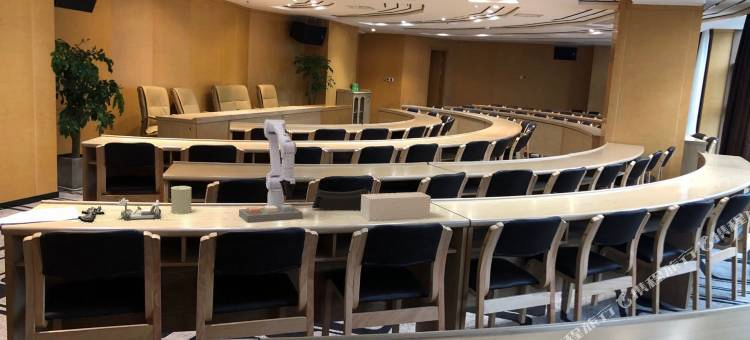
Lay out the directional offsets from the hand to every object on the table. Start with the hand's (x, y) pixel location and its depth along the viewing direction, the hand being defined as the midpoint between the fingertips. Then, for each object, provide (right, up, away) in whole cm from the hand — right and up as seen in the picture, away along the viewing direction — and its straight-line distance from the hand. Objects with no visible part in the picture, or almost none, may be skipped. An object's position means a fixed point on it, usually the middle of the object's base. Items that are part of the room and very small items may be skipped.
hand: (287, 196), depth 284 cm
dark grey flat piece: (-85, -9, -13) cm, 87 cm away
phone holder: (-64, -9, -13) cm, 66 cm away
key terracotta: (-14, -8, -6) cm, 18 cm away
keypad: (-7, -10, -2) cm, 12 cm away
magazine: (+25, -8, +19) cm, 33 cm away
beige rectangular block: (+51, -11, +10) cm, 53 cm away
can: (-50, -8, +1) cm, 51 cm away
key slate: (0, -8, +1) cm, 8 cm away
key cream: (-7, -8, -3) cm, 11 cm away
